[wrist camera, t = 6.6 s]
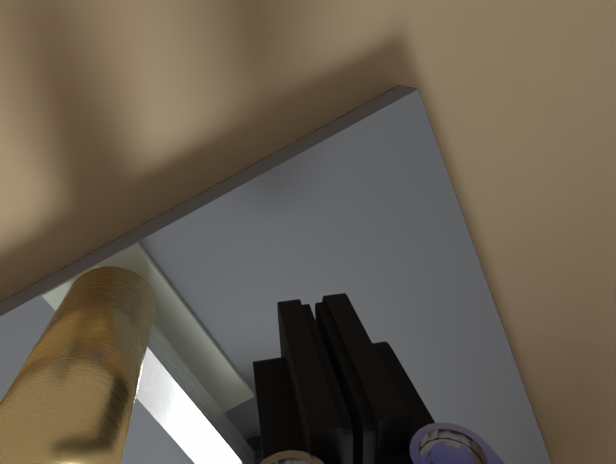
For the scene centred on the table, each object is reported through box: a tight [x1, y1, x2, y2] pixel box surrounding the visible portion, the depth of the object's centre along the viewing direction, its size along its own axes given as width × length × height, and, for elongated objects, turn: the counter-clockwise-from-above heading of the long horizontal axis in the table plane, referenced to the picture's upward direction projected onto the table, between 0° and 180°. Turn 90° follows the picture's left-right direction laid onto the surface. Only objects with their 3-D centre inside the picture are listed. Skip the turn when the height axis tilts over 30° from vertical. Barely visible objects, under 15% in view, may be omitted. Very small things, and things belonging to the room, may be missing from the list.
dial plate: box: [0, 85, 552, 464], centre depth 18 cm, size 22×22×2 cm
